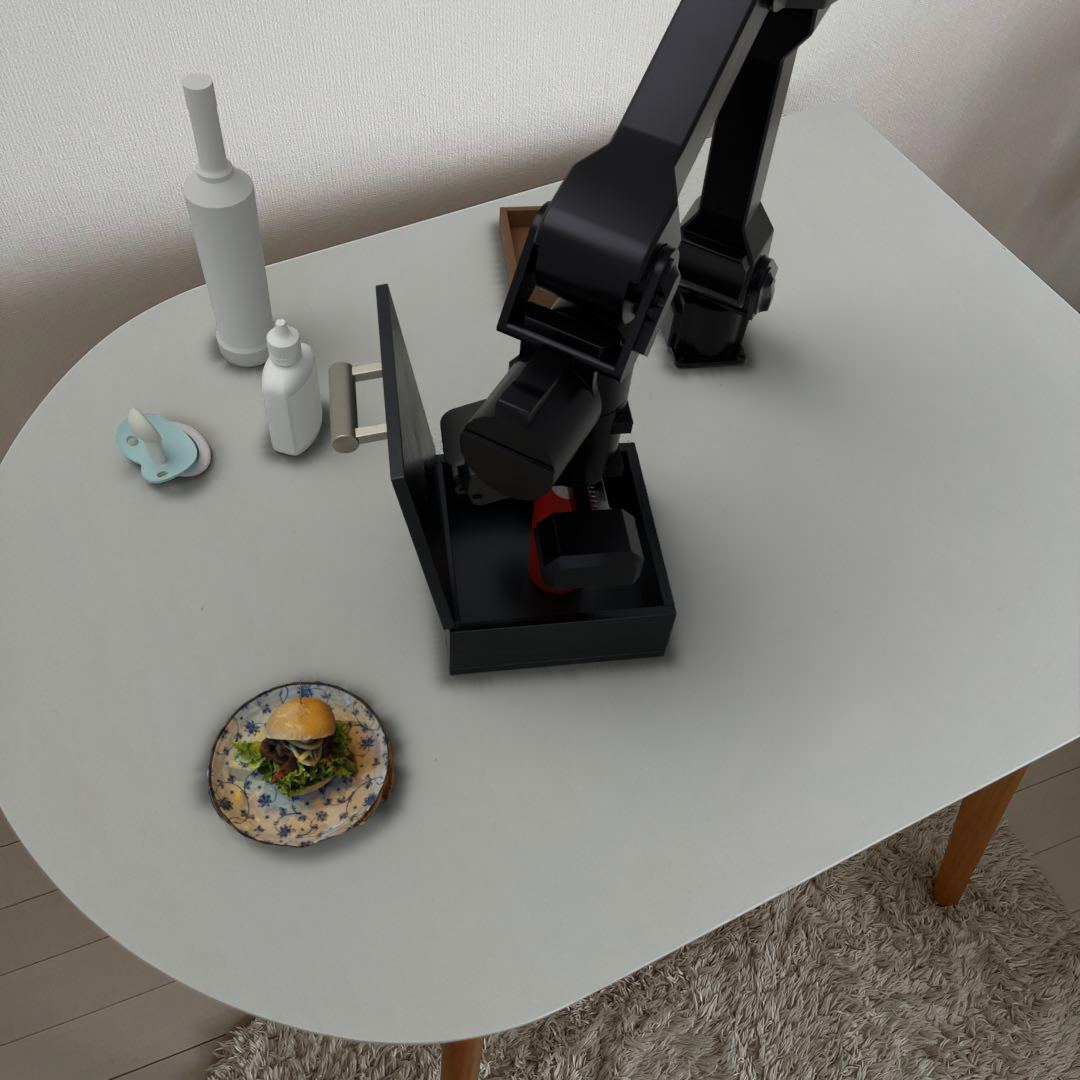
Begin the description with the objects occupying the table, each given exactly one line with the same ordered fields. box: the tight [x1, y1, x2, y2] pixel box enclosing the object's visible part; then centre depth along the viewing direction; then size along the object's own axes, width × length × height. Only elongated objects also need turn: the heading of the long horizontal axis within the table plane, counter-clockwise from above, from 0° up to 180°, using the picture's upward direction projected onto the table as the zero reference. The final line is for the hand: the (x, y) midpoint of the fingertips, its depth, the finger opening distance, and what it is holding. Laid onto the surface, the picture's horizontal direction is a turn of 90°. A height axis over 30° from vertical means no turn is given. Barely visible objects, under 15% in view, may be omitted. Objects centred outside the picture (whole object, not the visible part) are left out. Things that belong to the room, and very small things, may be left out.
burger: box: [206, 679, 395, 849], centre depth 71 cm, size 12×12×8 cm
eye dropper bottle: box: [261, 318, 323, 456], centre depth 86 cm, size 4×6×12 cm
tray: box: [498, 205, 559, 308], centre depth 104 cm, size 13×11×3 cm
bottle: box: [181, 72, 276, 368], centre depth 86 cm, size 5×5×25 cm
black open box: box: [436, 441, 678, 676], centre depth 82 cm, size 16×16×6 cm
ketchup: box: [528, 486, 594, 593], centre depth 79 cm, size 4×4×12 cm
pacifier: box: [115, 407, 212, 484], centre depth 86 cm, size 7×6×6 cm
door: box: [327, 283, 455, 631], centre depth 71 cm, size 16×16×4 cm
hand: (559, 538), depth 80 cm, fingers closed on ketchup, 7 cm apart
